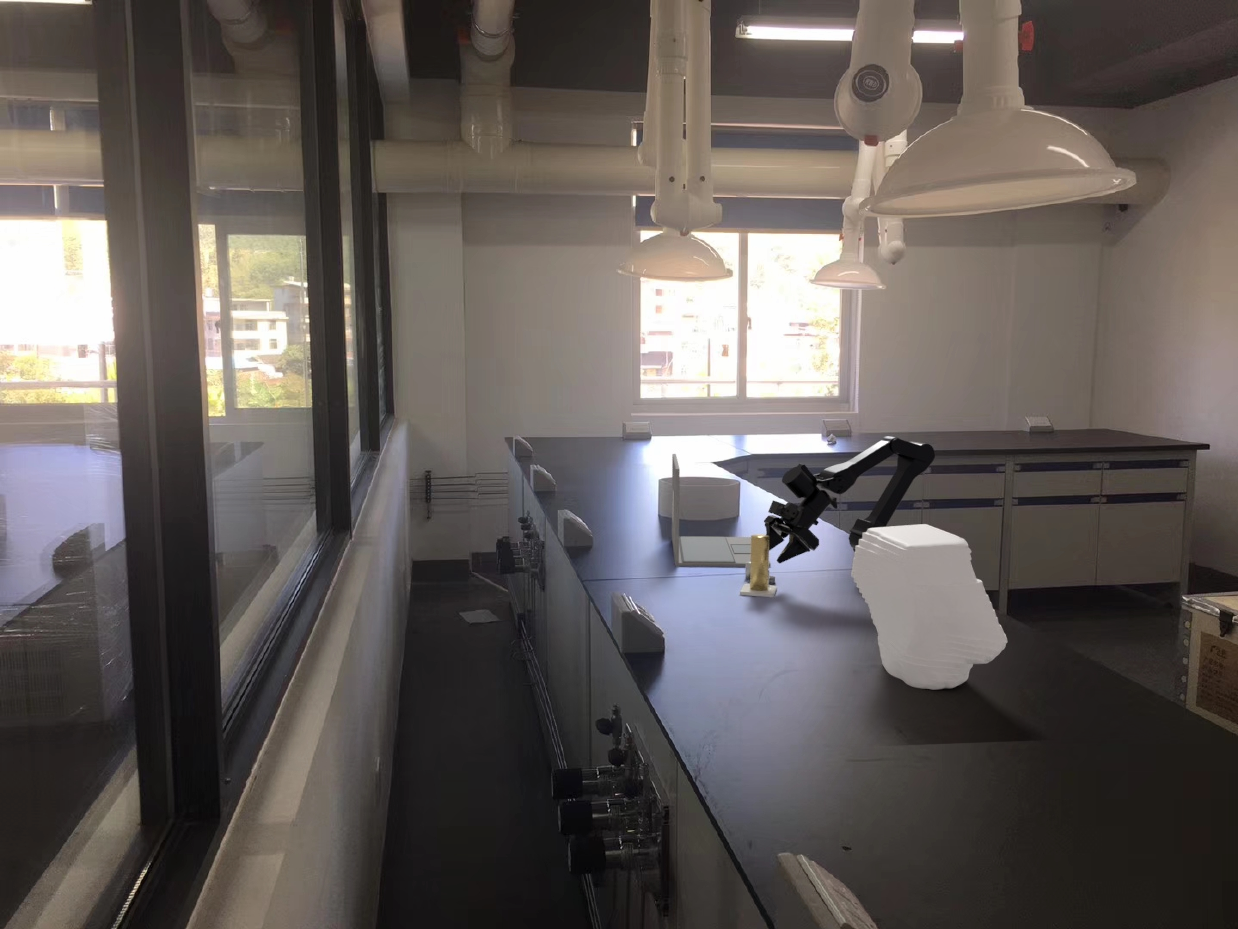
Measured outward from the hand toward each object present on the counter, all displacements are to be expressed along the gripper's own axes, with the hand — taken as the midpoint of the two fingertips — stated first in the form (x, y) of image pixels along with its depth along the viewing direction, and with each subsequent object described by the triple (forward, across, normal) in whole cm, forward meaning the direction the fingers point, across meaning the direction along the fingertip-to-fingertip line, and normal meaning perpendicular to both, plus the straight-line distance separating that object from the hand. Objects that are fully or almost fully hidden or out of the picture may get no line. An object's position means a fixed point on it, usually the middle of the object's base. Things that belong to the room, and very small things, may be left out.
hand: (769, 558), depth 226 cm
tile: (+8, 0, +4) cm, 9 cm away
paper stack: (+7, +61, +5) cm, 62 cm away
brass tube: (+7, 0, +3) cm, 8 cm away
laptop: (+2, -43, +10) cm, 44 cm away
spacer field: (+5, -8, +7) cm, 12 cm away
